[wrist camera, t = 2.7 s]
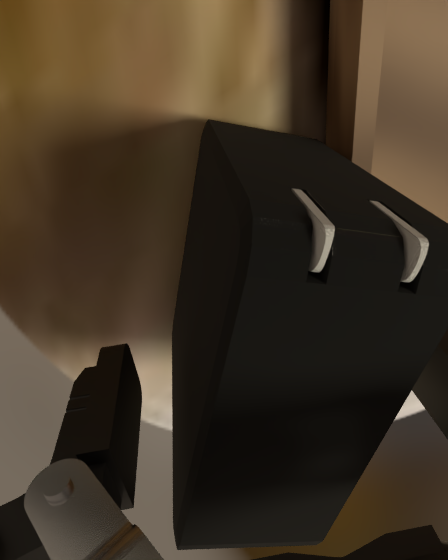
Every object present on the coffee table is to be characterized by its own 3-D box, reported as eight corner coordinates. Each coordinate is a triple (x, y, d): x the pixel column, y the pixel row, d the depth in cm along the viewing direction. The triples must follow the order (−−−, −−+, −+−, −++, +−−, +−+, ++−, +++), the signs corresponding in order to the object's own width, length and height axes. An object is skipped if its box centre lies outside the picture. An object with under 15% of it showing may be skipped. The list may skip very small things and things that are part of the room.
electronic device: (171, 332, 19) (171, 564, 10) (203, 114, 14) (253, 219, 6) (253, 337, 20) (316, 557, 11) (311, 134, 15) (498, 252, 6)
